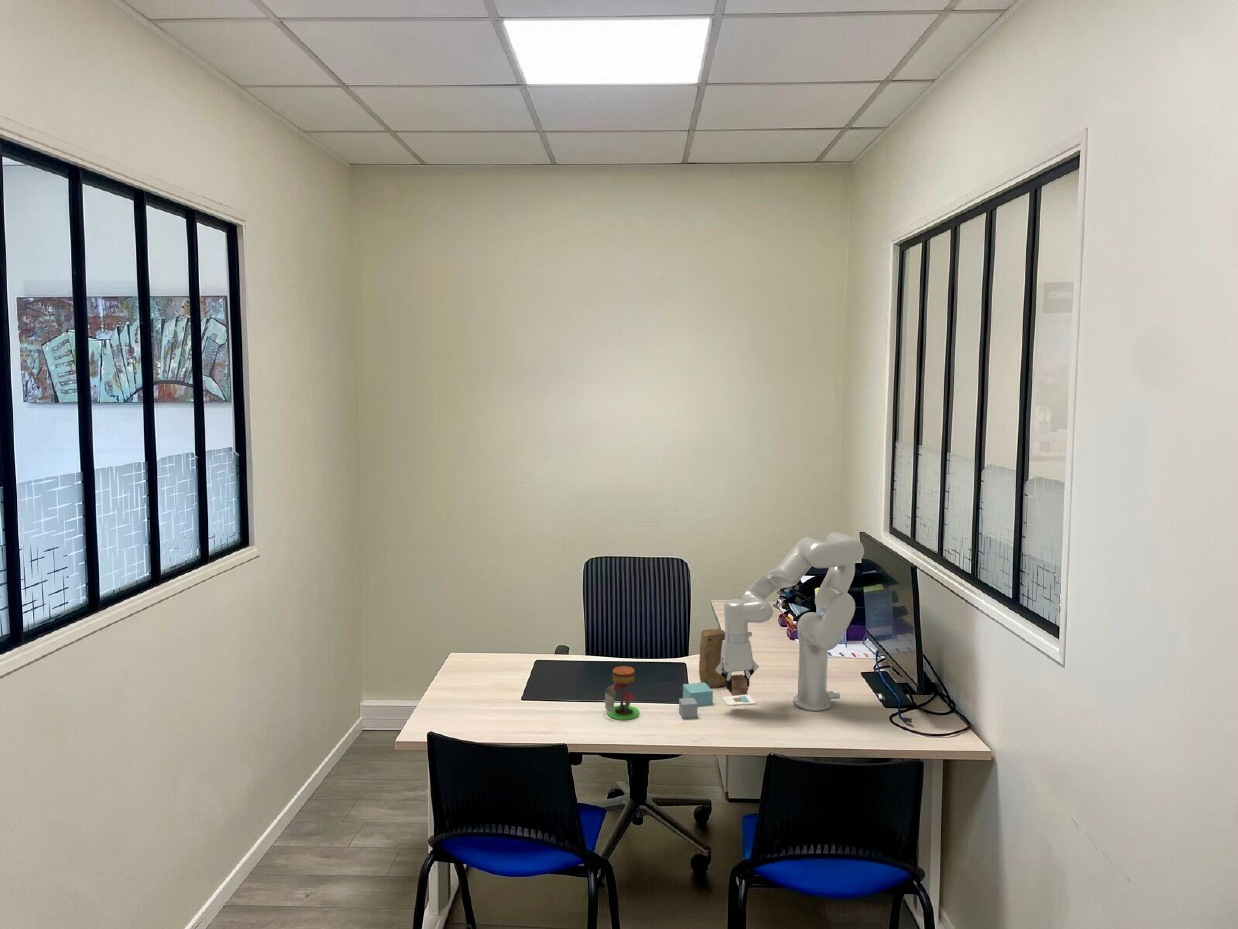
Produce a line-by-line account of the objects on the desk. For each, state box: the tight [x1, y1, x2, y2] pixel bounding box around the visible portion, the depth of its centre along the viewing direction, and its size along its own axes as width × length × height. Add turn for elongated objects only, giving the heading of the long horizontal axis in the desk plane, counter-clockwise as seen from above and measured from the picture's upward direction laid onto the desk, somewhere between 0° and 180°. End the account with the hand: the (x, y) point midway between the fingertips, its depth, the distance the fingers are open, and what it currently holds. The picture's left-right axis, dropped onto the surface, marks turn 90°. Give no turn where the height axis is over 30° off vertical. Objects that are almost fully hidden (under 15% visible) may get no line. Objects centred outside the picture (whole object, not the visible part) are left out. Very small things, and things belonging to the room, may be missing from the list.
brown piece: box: [698, 628, 726, 688], centre depth 299 cm, size 11×8×20 cm
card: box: [721, 694, 757, 707], centre depth 285 cm, size 10×7×1 cm
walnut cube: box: [729, 673, 748, 696], centre depth 276 cm, size 5×5×5 cm
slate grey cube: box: [678, 697, 698, 720], centre depth 273 cm, size 5×5×5 cm
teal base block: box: [682, 682, 714, 707], centre depth 285 cm, size 8×8×5 cm
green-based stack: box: [604, 665, 640, 721], centre depth 274 cm, size 12×13×15 cm
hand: (737, 689), depth 276 cm, fingers closed on walnut cube, 5 cm apart
